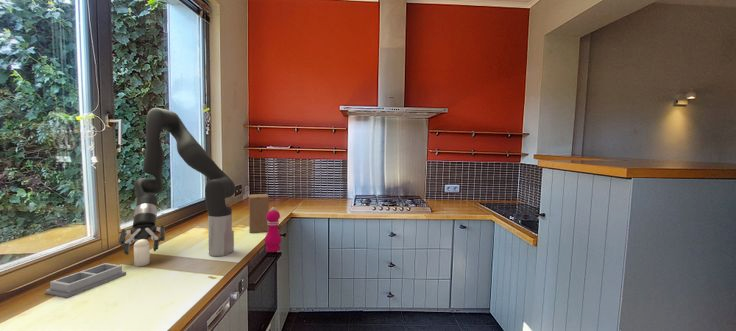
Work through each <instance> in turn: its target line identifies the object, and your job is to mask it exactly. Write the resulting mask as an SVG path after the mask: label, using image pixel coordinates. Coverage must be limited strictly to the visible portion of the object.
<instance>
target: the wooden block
mask: <svg viewBox="0 0 736 331" xmlns="http://www.w3.org/2000/svg"><path fill="white" fill-rule="evenodd" d="M269 197H270V196H269V194H268V193H261V194H260V193H258V194H255V193H253V194H249V198H248V199H249V200H248V201H249V203H248V204H249V205H248V206H249V208H248V209H249V211H248V212H249V225H248V226H249V228H248V231H249V232H248V233H249V234H255V233H258V234H259V233H267V232H268V224H267V223H268V220H267V218H266V215H267V213H268V212H269V210H270V208H269V207H270V202H269V200H270V198H269Z"/></svg>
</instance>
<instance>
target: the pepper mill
mask: <svg viewBox="0 0 736 331" xmlns="http://www.w3.org/2000/svg"><path fill="white" fill-rule="evenodd" d="M266 218H267V220H268V223H267V224H268V232H266V235H265V238H264V244H265V245H266V246H265V251H266V252H269V253H276V252H279V251H280V250H281V245H280V244H281V242H282V236H281V234H280V232H279V228H278V227H279V220H280V218H281V215H280V211H278V210H276V207H274V206H272V207H271V208H270V211H269V212H268V213H267V215H266Z"/></svg>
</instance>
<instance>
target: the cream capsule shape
mask: <svg viewBox="0 0 736 331" xmlns="http://www.w3.org/2000/svg"><path fill="white" fill-rule="evenodd" d="M133 243H134V244H133V265H134V267H137V268H138V267H144V266H147V265H149V264H150V263H151V262H150V261H151V260H150V258H151V257H150V256H151V255H150V242H149V241H148V239H140V240H138V239H137V240H136V241H135V242H133Z"/></svg>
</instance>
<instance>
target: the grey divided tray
mask: <svg viewBox="0 0 736 331" xmlns="http://www.w3.org/2000/svg"><path fill="white" fill-rule="evenodd" d="M125 275H127V271H124V270H123V265H120V264H114V263H108V262H107V263H106V262H104V263H102V264H99V265H96V266H93V267H90V268H86V269H83V270H81V271H77V272H75V273H72V274H69V275H67V276H63V277H60V278H57V279H55V280H54V279H53V280H51V281H49V288H47V289H45V294H47V295H52V296H57V297H62V298H67V299H68V298H70V297H73V296H75V295H77V294H80V293H83V292H86V291H88V290H91V289H93V288H95V287H98V286H101V285H103V284H105V283H108V282H111V281H113V280H115V279H116V280H117V279H118V278H120V277H123V276H125Z"/></svg>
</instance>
